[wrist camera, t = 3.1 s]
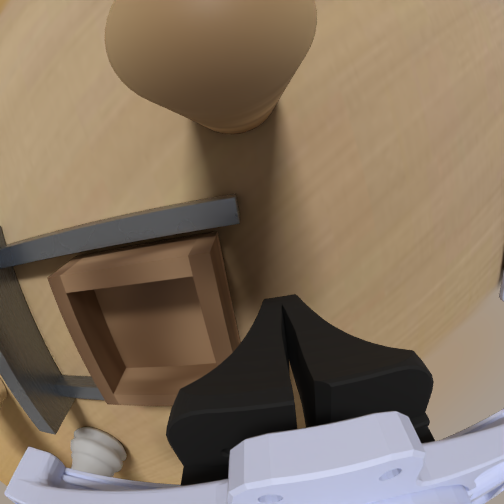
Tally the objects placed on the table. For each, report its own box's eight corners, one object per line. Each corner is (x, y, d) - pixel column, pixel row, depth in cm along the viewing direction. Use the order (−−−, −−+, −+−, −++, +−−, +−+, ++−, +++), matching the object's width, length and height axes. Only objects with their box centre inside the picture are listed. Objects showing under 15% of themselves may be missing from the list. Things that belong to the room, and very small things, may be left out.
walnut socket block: (217, 231, 12) (209, 252, 10) (245, 365, 15) (245, 401, 12) (76, 256, 13) (47, 277, 10) (122, 372, 15) (107, 404, 13)
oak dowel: (269, 46, 10) (293, -66, 3) (283, 127, 11) (335, 94, 4) (182, 61, 10) (103, -29, 3) (195, 141, 11) (115, 133, 4)
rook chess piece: (139, 454, 18) (117, 539, 11) (105, 460, 19) (81, 533, 11) (96, 419, 17) (59, 509, 9) (66, 428, 18) (30, 503, 10)
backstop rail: (231, 166, 12) (224, 173, 8) (271, 395, 16) (275, 444, 12) (-14, 231, 12) (-54, 251, 9) (60, 396, 16) (39, 430, 13)
